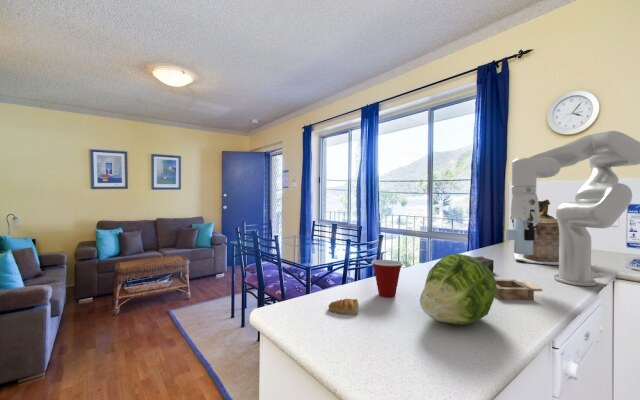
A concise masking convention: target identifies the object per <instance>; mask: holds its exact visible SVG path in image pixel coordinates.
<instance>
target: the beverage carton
mask: <svg viewBox="0 0 640 400" xmlns="http://www.w3.org/2000/svg"><path fill="white" fill-rule="evenodd" d="M473 257H474V258H476V259H477V260H479V261H481V262H483V263H484V264H485V265H486V266H487V267H488V268H489V270H490V271H491V272H492V274H493V273H494V268H495V267H494V264H495V263H494V261H495V260H493V259H490V258H486V257H484V256H476V257H475V256H473Z"/></svg>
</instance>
